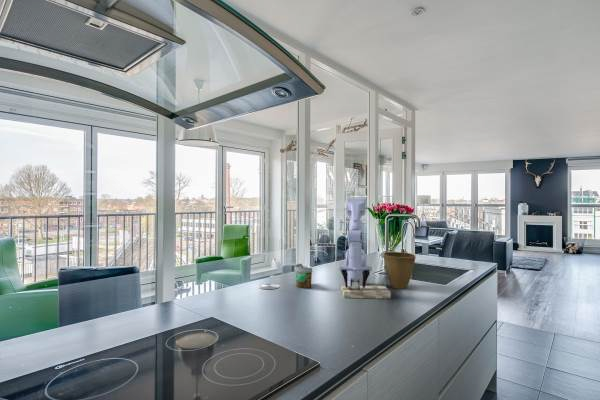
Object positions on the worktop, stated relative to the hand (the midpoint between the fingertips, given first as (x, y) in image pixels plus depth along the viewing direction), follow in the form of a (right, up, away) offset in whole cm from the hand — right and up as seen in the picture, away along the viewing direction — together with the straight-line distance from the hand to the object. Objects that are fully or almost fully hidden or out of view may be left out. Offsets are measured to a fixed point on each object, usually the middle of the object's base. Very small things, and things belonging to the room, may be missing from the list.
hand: (355, 287), depth 142 cm
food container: (-24, -3, +13) cm, 27 cm away
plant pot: (+24, -4, +12) cm, 27 cm away
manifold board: (+5, -3, 0) cm, 6 cm away
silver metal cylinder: (0, -3, 0) cm, 3 cm away
